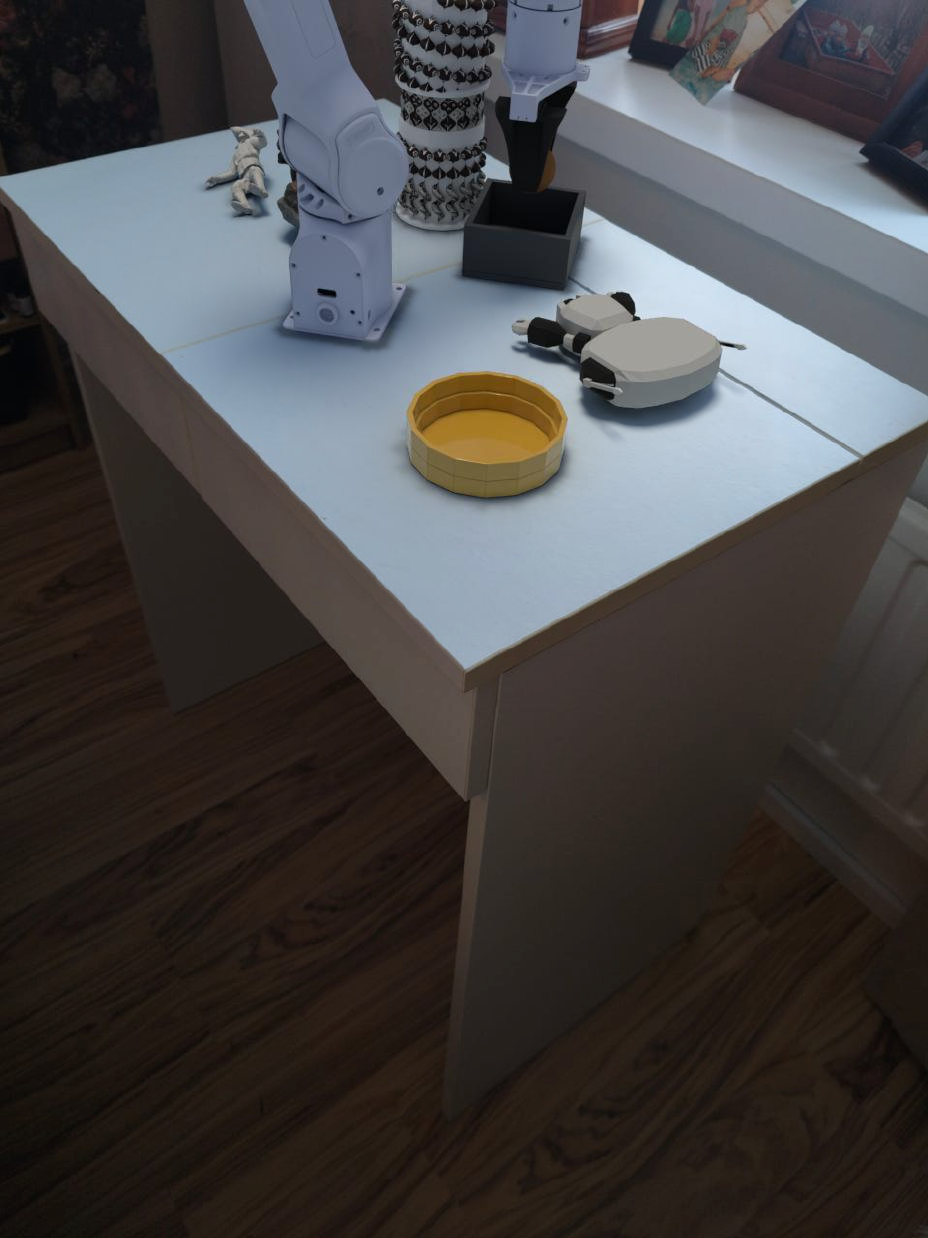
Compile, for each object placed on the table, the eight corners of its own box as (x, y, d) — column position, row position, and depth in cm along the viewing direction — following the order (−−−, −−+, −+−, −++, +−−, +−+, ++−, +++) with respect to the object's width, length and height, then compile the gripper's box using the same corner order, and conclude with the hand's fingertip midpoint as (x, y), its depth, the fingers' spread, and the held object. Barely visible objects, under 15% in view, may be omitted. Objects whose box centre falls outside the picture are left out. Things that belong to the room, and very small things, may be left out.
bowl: (548, 513, 67) (553, 474, 64) (390, 486, 68) (389, 447, 66) (571, 422, 74) (576, 384, 72) (428, 399, 75) (428, 361, 73)
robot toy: (499, 358, 81) (619, 443, 72) (501, 305, 78) (626, 386, 69) (617, 320, 86) (743, 395, 77) (623, 269, 83) (755, 340, 74)
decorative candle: (497, 199, 100) (518, -106, 82) (471, 239, 94) (488, -82, 76) (410, 184, 102) (412, -118, 84) (379, 222, 96) (373, -96, 78)
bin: (564, 290, 88) (570, 239, 85) (461, 275, 89) (463, 224, 86) (580, 239, 95) (586, 190, 92) (484, 226, 96) (487, 177, 93)
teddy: (549, 203, 86) (558, 119, 81) (503, 197, 87) (509, 113, 82) (556, 184, 89) (565, 102, 84) (511, 179, 89) (517, 97, 84)
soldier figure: (210, 226, 96) (188, 139, 101) (249, 250, 100) (226, 165, 104) (264, 172, 92) (239, 84, 97) (302, 198, 96) (277, 113, 101)
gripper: (584, 34, 72) (563, 221, 81) (607, -20, 82) (586, 153, 91) (487, 23, 73) (478, 210, 82) (522, -29, 83) (510, 143, 92)
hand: (529, 179), depth 87 cm, fingers closed on teddy, 4 cm apart
